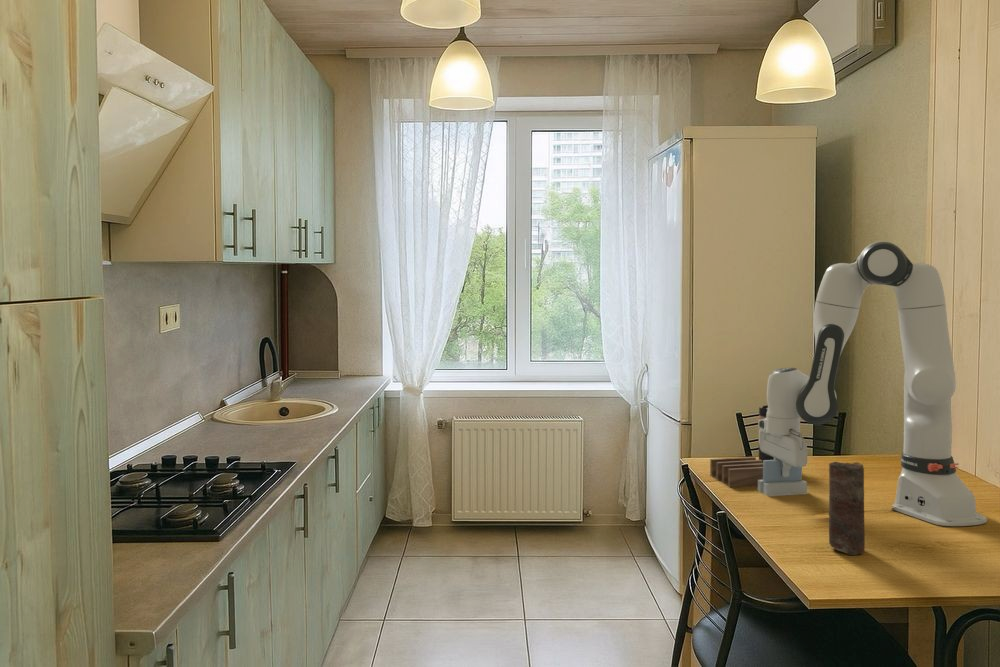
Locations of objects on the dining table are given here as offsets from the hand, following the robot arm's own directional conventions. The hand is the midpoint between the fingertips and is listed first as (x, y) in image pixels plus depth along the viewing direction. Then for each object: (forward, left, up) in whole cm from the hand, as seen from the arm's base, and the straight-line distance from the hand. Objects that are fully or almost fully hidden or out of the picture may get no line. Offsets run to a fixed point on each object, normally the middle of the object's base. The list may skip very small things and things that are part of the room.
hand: (782, 475), depth 225 cm
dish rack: (+14, +5, -6) cm, 16 cm away
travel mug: (+25, -10, -6) cm, 28 cm away
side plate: (0, 0, -5) cm, 5 cm away
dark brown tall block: (-43, +8, -6) cm, 44 cm away
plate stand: (0, 0, -6) cm, 6 cm away
